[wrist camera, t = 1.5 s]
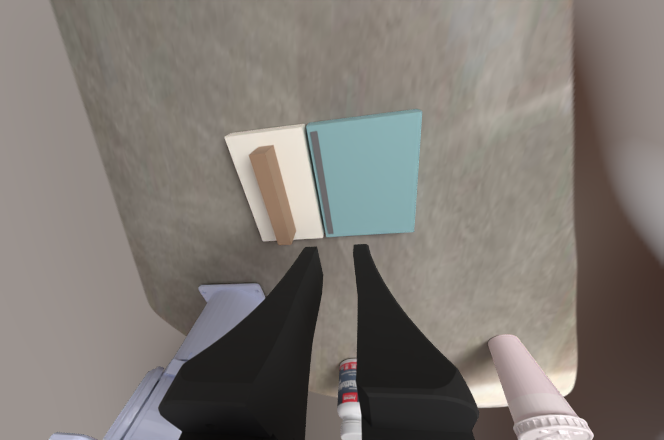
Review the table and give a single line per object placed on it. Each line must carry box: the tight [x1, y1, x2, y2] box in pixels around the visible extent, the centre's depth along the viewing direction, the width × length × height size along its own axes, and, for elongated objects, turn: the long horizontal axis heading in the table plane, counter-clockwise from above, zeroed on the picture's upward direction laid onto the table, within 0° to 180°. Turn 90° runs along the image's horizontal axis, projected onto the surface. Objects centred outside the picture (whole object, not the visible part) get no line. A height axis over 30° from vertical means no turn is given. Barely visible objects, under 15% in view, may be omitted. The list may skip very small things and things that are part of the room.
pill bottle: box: [337, 358, 362, 440], centre depth 34 cm, size 5×5×9 cm
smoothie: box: [488, 334, 594, 440], centre depth 25 cm, size 6×6×14 cm
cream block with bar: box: [224, 124, 324, 245], centre depth 20 cm, size 10×6×3 cm, turn 8°
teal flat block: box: [306, 109, 422, 237], centre depth 19 cm, size 10×8×1 cm
